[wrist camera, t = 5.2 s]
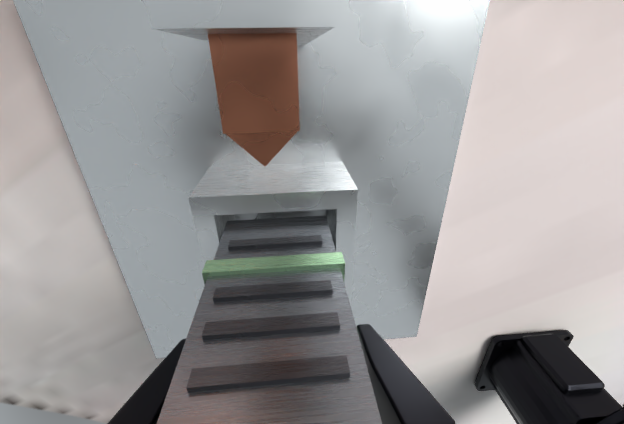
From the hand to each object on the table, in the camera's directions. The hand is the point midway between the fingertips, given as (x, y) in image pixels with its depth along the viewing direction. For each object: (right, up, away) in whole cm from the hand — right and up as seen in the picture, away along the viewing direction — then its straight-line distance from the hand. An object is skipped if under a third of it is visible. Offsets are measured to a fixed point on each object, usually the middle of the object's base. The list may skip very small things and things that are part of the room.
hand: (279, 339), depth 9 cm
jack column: (0, +2, +4) cm, 4 cm away
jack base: (-1, +4, +7) cm, 8 cm away
